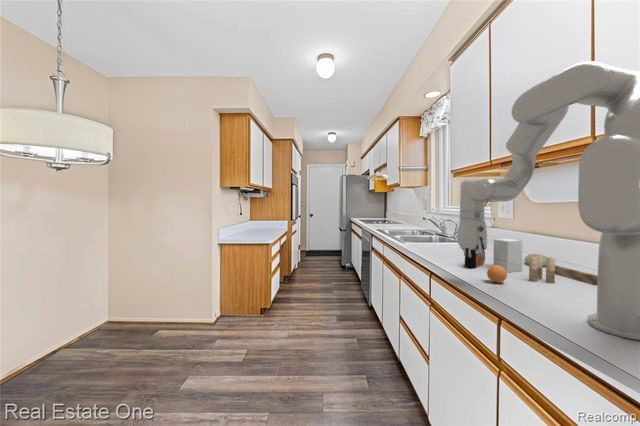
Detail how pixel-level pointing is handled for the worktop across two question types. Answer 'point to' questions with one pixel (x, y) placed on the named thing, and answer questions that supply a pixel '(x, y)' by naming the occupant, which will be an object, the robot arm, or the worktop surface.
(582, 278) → the brown wooden bar
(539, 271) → the back left pin
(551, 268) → the back right pin
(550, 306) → the worktop surface
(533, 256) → the sea urchin shell
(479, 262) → the tin
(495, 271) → the ball
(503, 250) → the supplement box
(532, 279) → the front pin
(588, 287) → the worktop surface
